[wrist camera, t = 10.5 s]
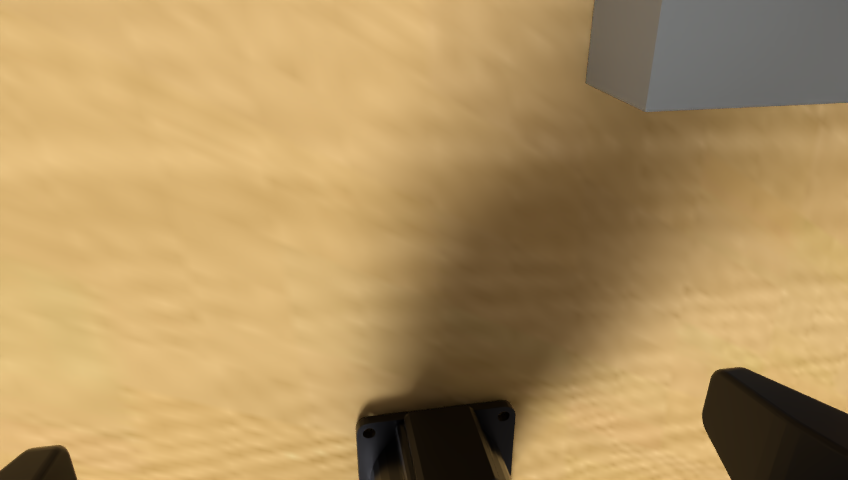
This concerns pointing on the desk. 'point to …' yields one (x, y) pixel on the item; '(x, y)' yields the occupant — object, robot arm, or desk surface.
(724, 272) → the desk surface
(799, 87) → the frame
